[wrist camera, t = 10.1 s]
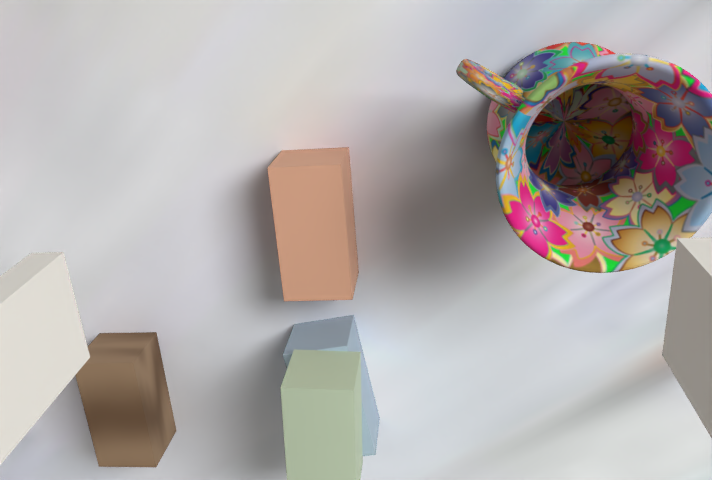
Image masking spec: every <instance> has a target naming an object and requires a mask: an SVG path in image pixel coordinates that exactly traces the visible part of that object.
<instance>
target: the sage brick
mask: <svg viewBox="0 0 712 480" xmlns="http://www.w3.org/2000/svg"><path fill="white" fill-rule="evenodd" d="M281 402H282V416H283V430H284V444H285V459H286V473H287V480H360V478H361V470H362V463H363V451H362V398H361V352H352V351H324V350H295V349H294V351H293V354H292V357H291V359H290V362H289V365H288V368H287V371H286V373H285V376H284V379H283V382H282V385H281Z"/></svg>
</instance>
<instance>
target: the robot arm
mask: <svg viewBox="0 0 712 480" xmlns="http://www.w3.org/2000/svg"><path fill="white" fill-rule="evenodd" d="M662 356H663V357H664V359H665V361H666V362H667V364H668V366H669V367H670V369H671V371H672V372H673V374H674V376H675V377H676V379H677V381H678V382H679V384H680V386H681V387H682V389H683V391H684V392H685V394H686V396H687V398H688V399H689V401H690V403H691V404H692V406H693V408H694V409H695V411H696V413H697V414H698V416H699V418H700V419H701V421H702V423H703V424H704V426H705V428H706V429H707V431H708V433H709V434H710V436H711V438H712V237H711V238H677V245H676V252H675V260H674V268H673V275H672V283H671V291H670V298H669V306H668V314H667V321H666V329H665V337H664V345H663V352H662ZM89 358H90V354H89V351H88V347H87V343H86V339H85V335H84V331H83V327H82V323H81V319H80V315H79V311H78V307H77V303H76V300H75V296H74V292H73V288H72V284H71V280H70V276H69V272H68V268H67V264H66V260H65V256H64V253H63V252H47V253H30V254H29V255H28V256H26V257H25V258H24V259H22V260H21V261H20V262H19V263H17V264H16V265H15V266H13V267H12V268H11V269H9V270H8V271H7V272H5V273H4V274H3V275H1V276H0V465H1V464H2V463H3V461H4V460H5V459H6V458H7V457H8V455H9V454H10V453H11V452H12V451H13V449H14V448H15V447H16V446H17V445H18V443H19V442H20V441H21V440H22V439H23V437H24V436H25V435H26V434H27V433H28V431H29V430H30V429H31V428H32V427H33V425H34V424H35V423H36V422H37V421H38V419H39V418H40V417H41V416H42V415H43V413H44V412H45V411H46V410H47V409H48V407H49V406H50V405H51V404H52V403H53V401H54V400H55V399H56V398H57V397H58V395H59V394H60V393H61V392H62V391H63V389H64V388H65V387H66V386H67V385H68V383H69V382H70V381H71V380H72V379H73V377H74V376H75V375H76V374H77V372H78V371H79V370H80V369H81V368H82V366H83V365H84V364H85V363H86V362H87V360H88V359H89Z"/></svg>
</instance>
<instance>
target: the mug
mask: <svg viewBox="0 0 712 480" xmlns="http://www.w3.org/2000/svg"><path fill="white" fill-rule="evenodd" d="M456 72H457V75H458V76H459V77H460V78H462V79H463V80H464V81H465V82H466V83H468V84H469V85H470V86H472V87H473V88H475V89H476V90H477V91H479V92H480V93H482V94H483V95H485V96H486V97H488V98H489V99H491V100H492V101H491V104H490V107H489V112H488V117H487V136H488V142H489V147H490V150H491V153H492V155H493V157H494V159H495V161H496V186H497V193H498V197H499V201H500V204H501V207H502V210H503V213H504V215H505V217H506V219H507V221H508V223H509V224H510V226H511V228H512V229H513V230H514V232H515V233H516V234H517V236H518V237H519V238H520V239H521V240H522V241H523V242H524V243H525V244H526V245H527V246H528V247H529V248H530V249H532V250H533V251H534V252H536V253H537V254H538V255H540V256H541V257H543V258H545V259H547V260H549V261H551V262H553V263H555V264H557V265H560V266H563V267H566V268H569V269H574V270H578V271H584V272H595V273H607V272H618V271H624V270H629V269H634V268H637V267H640V266H643V265H646V264H649V263H651V262H654V261H656V260H658V259H660V258H662V257H664V256H666V255H667V254H669V253H671V252H672V251H674V250H675V249H676V245H677V238H690V237H692V236H693V235H694V234H695V233H696V232H697V230H698V229H699V228H700V227H701V226H702V225H703V224H704V222H705V221H706V220H707V219H708V217H709V216H710V214H711V213H712V94H711V93H710V92H709V91H708V89H707V88H706V87H705V86H704V85H703V84H702V83H701V82H700V81H699V80H698V79H697V78H695V77H694V76H693V75H691V74H690V73H689V72H687V71H685V70H684V69H682V68H681V67H679V66H677V65H674V64H672V63H670V62H668V61H665V60H662V59H659V58H656V57H651V56H647V55H640V54H615V53H613V52H612V51H610V50H608V49H606V48H603V47H600V46H597V45H594V44H589V43H581V42H568V43H560V44H555V45H552V46H548V47H545V48H543V49H540V50H538V51H536V52H534V53H532V54H530V55H529V56H527V57H526V58H524V59H523V60H521V61H520V62H519V63H518V64H517V65H515V66H514V67H513V68H512V69H511V70H510V71H509V72H508V74H507V75H506V76H505V77H504V78H502V77H500V76H499V75H497V74H495V73H494V72H492V71H490V70H488V69H487V68H485V67H483V66H481V65H479V64H477V63H475V62H473V61H471V60H468V59H464V60H463V61H462V62H461V63H460V64H459V66H458V68H457V70H456Z"/></svg>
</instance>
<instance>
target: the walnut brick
mask: <svg viewBox="0 0 712 480" xmlns="http://www.w3.org/2000/svg"><path fill="white" fill-rule="evenodd" d="M88 351H89V354H90V358H89V359H88V360H87V362H86V363H85V364H84V365H83V366H82V368H81V369H80V370H79V371H78V372H77V374H76V379H77V383H78V387H79V391H80V395H81V399H82V402H83V406H84V410H85V414H86V418H87V422H88V426H89V429H90V433H91V437H92V441H93V445H94V449H95V453H96V456H97V460H98V464H99V467H157V465H158V463H159V461H160V459H161V458H162V456H163V454H164V452H165V450H166V449H167V447H168V445H169V443H170V441H171V440H172V438H173V436H174V434H175V432H176V427H175V422H174V417H173V412H172V407H171V402H170V397H169V392H168V387H167V382H166V378H165V373H164V368H163V363H162V358H161V353H160V348H159V343H158V338H157V333H156V332H150V333H100V334H99V335H98V336H97V337H96V338H95V339H94V340H93V341H92V342H91V344H90V345H89V346H88Z"/></svg>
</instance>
